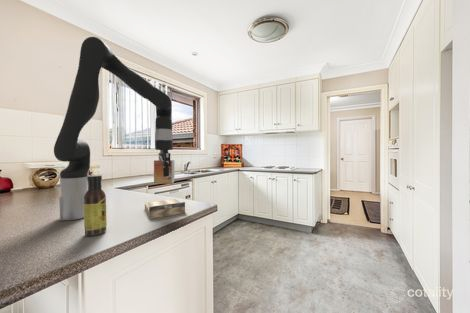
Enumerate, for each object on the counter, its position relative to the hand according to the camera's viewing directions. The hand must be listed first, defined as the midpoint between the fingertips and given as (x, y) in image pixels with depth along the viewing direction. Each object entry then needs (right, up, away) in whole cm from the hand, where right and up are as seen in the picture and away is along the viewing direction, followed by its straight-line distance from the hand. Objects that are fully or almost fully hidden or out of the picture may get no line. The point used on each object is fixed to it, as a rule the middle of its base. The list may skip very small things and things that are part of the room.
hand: (164, 175), depth 92 cm
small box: (0, -4, 0) cm, 4 cm away
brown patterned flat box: (-1, -17, +2) cm, 17 cm away
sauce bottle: (-16, -18, -23) cm, 33 cm away
